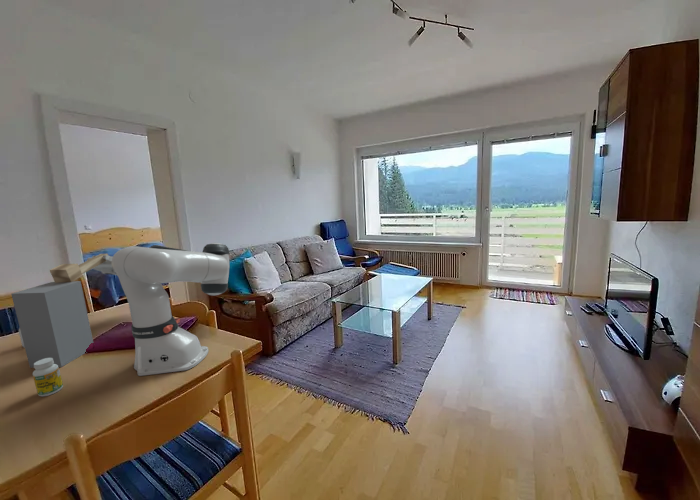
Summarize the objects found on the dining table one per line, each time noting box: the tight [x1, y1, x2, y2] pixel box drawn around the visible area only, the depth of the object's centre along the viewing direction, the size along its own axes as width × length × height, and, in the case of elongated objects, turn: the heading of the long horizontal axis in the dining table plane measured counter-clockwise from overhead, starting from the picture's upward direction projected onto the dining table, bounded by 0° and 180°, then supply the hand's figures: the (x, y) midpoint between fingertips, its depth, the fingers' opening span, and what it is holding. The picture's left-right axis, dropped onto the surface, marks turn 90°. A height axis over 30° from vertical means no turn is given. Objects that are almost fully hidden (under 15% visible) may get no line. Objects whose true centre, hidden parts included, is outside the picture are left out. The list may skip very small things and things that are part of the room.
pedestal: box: [11, 280, 94, 369], centre depth 107 cm, size 11×13×26 cm
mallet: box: [49, 253, 109, 283], centre depth 118 cm, size 6×20×5 cm, turn 178°
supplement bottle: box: [32, 358, 64, 397], centre depth 89 cm, size 5×5×10 cm
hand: (98, 257), depth 125 cm, fingers closed on mallet, 3 cm apart
